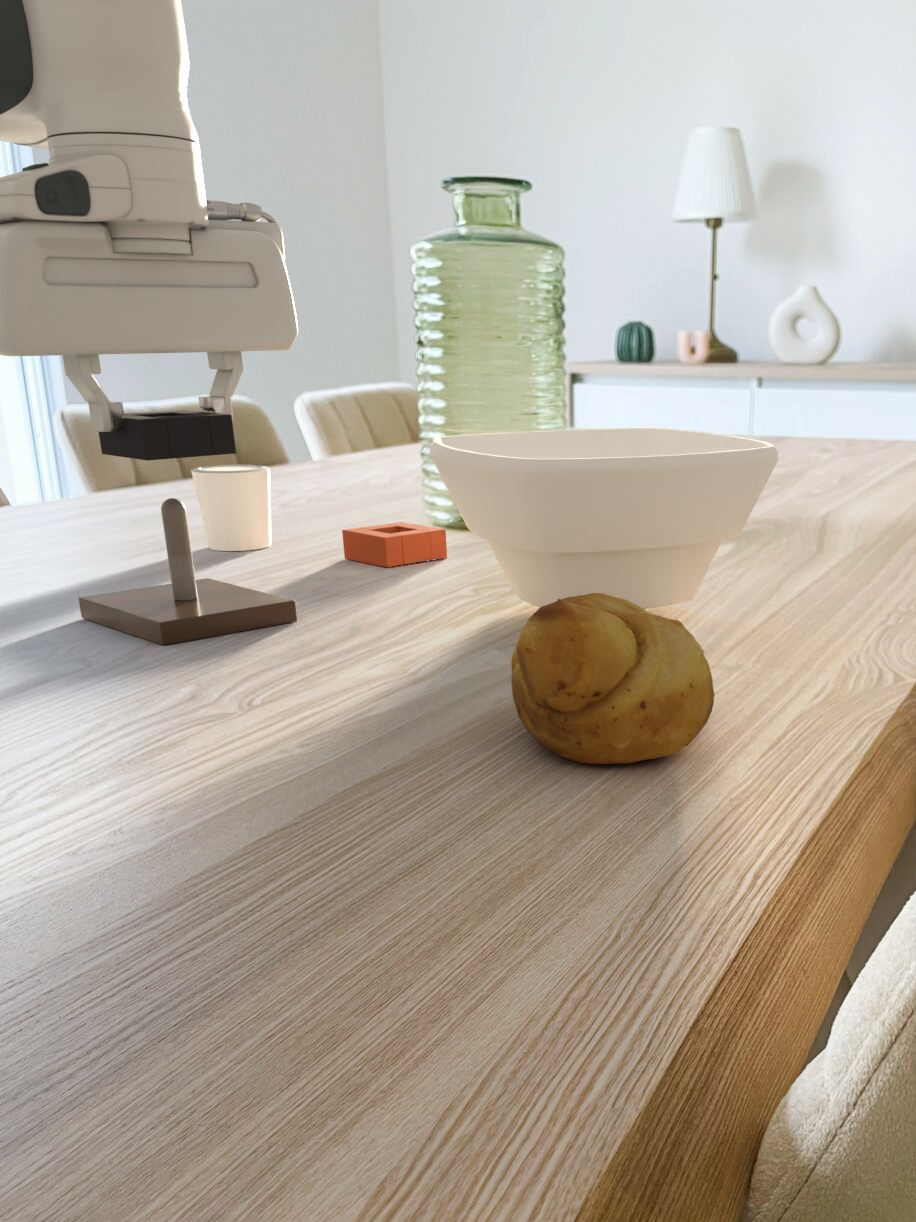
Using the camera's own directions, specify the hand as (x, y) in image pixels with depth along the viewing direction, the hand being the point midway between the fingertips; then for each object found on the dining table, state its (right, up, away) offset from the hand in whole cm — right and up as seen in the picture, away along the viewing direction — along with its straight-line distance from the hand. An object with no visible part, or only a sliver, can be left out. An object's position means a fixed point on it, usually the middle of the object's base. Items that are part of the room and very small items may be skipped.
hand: (164, 427), depth 87 cm
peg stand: (0, -12, +5) cm, 13 cm away
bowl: (+29, -10, +8) cm, 32 cm away
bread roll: (+30, -23, -21) cm, 43 cm away
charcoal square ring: (0, -2, +1) cm, 2 cm away
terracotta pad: (+10, -2, +28) cm, 29 cm away
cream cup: (-6, 0, +34) cm, 34 cm away
